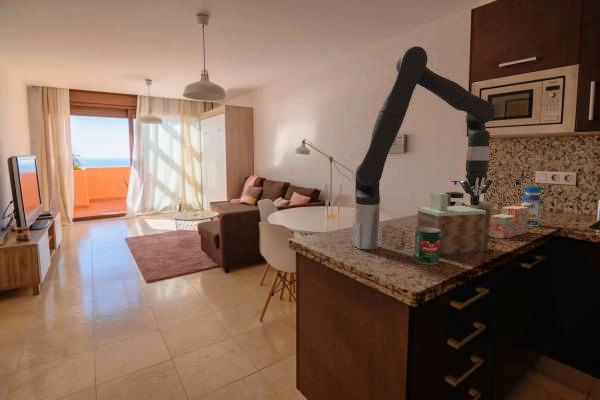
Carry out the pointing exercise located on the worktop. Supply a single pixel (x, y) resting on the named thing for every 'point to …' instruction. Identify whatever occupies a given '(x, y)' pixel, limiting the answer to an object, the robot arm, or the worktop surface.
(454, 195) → the french press
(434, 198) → the lid
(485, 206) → the key bar
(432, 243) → the canned tomato
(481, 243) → the storage box
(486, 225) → the post
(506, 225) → the stack of blocks
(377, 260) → the worktop surface
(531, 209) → the beverage bottle
